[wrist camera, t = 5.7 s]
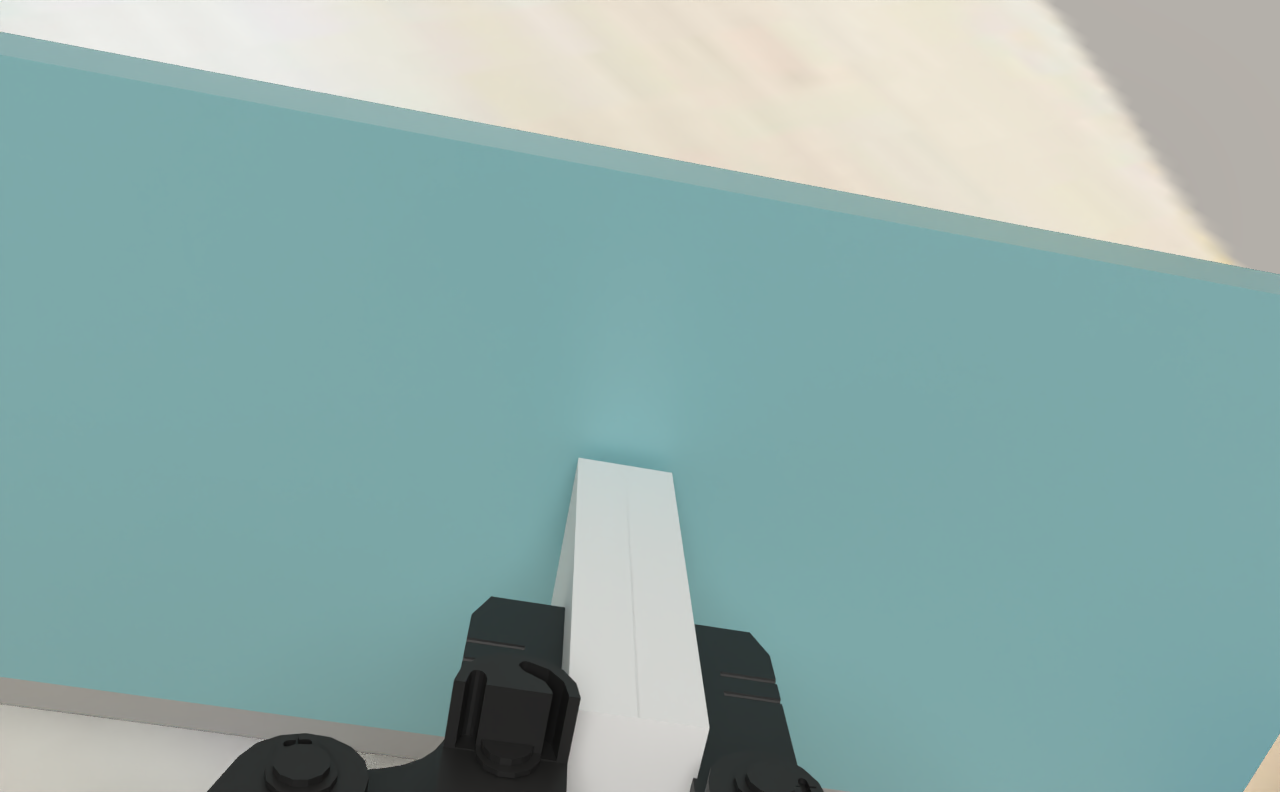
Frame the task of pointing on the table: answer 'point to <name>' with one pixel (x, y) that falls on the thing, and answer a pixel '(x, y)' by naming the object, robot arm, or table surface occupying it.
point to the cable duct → (213, 718)
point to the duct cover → (618, 431)
